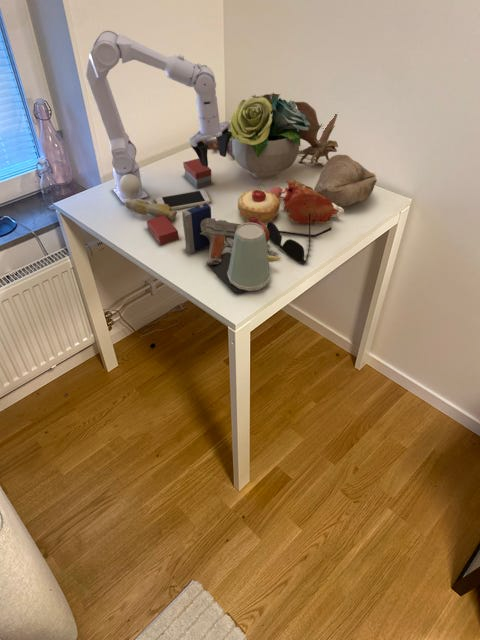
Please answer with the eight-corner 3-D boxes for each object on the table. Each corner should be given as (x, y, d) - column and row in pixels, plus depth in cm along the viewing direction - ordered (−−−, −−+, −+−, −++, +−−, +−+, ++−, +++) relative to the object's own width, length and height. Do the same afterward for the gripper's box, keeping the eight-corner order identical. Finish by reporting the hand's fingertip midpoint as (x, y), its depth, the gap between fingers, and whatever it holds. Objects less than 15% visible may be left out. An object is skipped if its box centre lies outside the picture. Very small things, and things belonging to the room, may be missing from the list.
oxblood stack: (147, 229, 137) (146, 220, 135) (166, 223, 139) (164, 214, 137) (160, 245, 131) (158, 236, 129) (179, 239, 133) (178, 230, 131)
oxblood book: (183, 168, 157) (183, 162, 156) (199, 164, 159) (198, 158, 158) (195, 179, 152) (195, 173, 150) (211, 175, 154) (211, 169, 152)
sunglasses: (341, 250, 130) (344, 234, 127) (299, 266, 124) (301, 250, 121) (302, 220, 140) (304, 204, 136) (261, 234, 134) (262, 218, 130)
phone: (236, 292, 116) (204, 260, 125) (236, 295, 116) (204, 263, 125) (261, 281, 118) (229, 251, 128) (261, 284, 119) (229, 253, 128)
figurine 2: (295, 217, 143) (306, 198, 145) (293, 210, 140) (304, 191, 142) (260, 205, 148) (271, 188, 150) (257, 199, 145) (269, 180, 147)
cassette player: (208, 240, 133) (206, 201, 124) (213, 244, 131) (211, 205, 123) (185, 250, 130) (180, 210, 121) (189, 254, 128) (185, 214, 120)
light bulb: (117, 209, 143) (114, 174, 138) (128, 204, 148) (126, 171, 143) (134, 212, 142) (132, 177, 137) (145, 207, 146) (143, 173, 142)
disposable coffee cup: (218, 225, 110) (219, 273, 121) (242, 252, 104) (241, 301, 115) (258, 211, 114) (255, 260, 125) (284, 237, 108) (278, 285, 119)
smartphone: (155, 200, 148) (155, 197, 148) (204, 191, 152) (204, 189, 151) (160, 212, 143) (159, 209, 143) (210, 203, 147) (210, 200, 146)
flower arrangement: (254, 150, 172) (255, 77, 155) (316, 169, 162) (324, 92, 145) (211, 178, 158) (206, 100, 141) (276, 201, 147) (279, 119, 130)
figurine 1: (179, 208, 142) (131, 193, 142) (176, 205, 136) (125, 189, 137) (174, 225, 142) (126, 210, 143) (170, 223, 137) (120, 207, 137)
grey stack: (184, 176, 160) (184, 167, 157) (199, 172, 161) (198, 164, 159) (197, 188, 154) (196, 179, 152) (211, 184, 156) (211, 175, 153)
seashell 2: (392, 177, 140) (359, 139, 135) (358, 222, 138) (323, 185, 133) (361, 184, 154) (330, 150, 149) (330, 224, 153) (298, 191, 148)
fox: (227, 254, 120) (229, 247, 120) (240, 267, 128) (241, 260, 128) (273, 256, 115) (274, 249, 115) (284, 269, 123) (285, 262, 123)
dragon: (314, 165, 148) (321, 98, 142) (266, 162, 168) (270, 104, 162) (354, 168, 157) (361, 105, 151) (303, 165, 177) (309, 110, 171)
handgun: (192, 158, 168) (196, 145, 177) (248, 158, 168) (249, 145, 177) (191, 149, 166) (196, 136, 175) (248, 150, 165) (249, 136, 174)
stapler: (307, 194, 144) (303, 199, 144) (307, 185, 139) (303, 189, 139) (343, 218, 140) (339, 222, 140) (344, 209, 135) (340, 213, 135)
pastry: (232, 221, 139) (231, 193, 133) (245, 201, 147) (245, 174, 141) (272, 229, 136) (273, 201, 130) (284, 208, 144) (285, 180, 138)
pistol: (210, 262, 120) (203, 215, 121) (204, 265, 122) (197, 218, 123) (260, 265, 134) (254, 223, 135) (254, 267, 135) (248, 226, 136)
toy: (265, 241, 132) (258, 242, 131) (280, 255, 126) (273, 256, 125) (264, 245, 132) (257, 246, 131) (279, 259, 127) (272, 261, 126)
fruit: (245, 261, 126) (245, 228, 119) (233, 245, 131) (232, 212, 124) (273, 254, 128) (275, 221, 121) (260, 238, 133) (261, 205, 126)
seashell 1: (276, 202, 126) (335, 194, 122) (275, 165, 128) (333, 156, 125) (288, 230, 142) (340, 223, 138) (286, 196, 144) (338, 189, 141)
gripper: (198, 127, 131) (205, 174, 140) (236, 109, 138) (240, 155, 147) (181, 121, 135) (189, 167, 144) (219, 104, 141) (224, 149, 151)
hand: (214, 160), depth 146 cm, fingers open, 7 cm apart
